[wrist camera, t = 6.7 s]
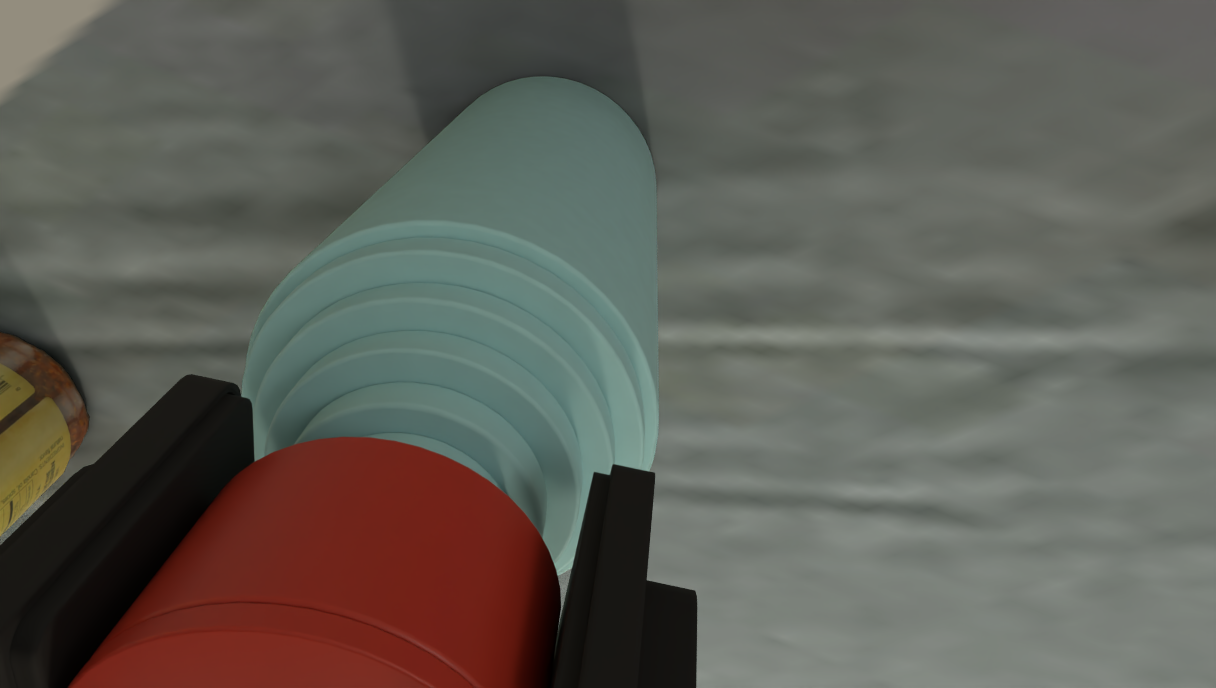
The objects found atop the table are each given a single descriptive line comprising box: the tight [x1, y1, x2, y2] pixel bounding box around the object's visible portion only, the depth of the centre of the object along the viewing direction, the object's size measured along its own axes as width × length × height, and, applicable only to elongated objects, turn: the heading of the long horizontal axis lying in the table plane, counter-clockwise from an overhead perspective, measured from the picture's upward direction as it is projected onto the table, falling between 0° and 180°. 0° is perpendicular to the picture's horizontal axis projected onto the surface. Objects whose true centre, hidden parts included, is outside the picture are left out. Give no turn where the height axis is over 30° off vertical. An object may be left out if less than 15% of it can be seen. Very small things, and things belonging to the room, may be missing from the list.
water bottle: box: [241, 76, 659, 576], centre depth 17 cm, size 7×7×20 cm
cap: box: [67, 437, 561, 688], centre depth 9 cm, size 4×4×3 cm
